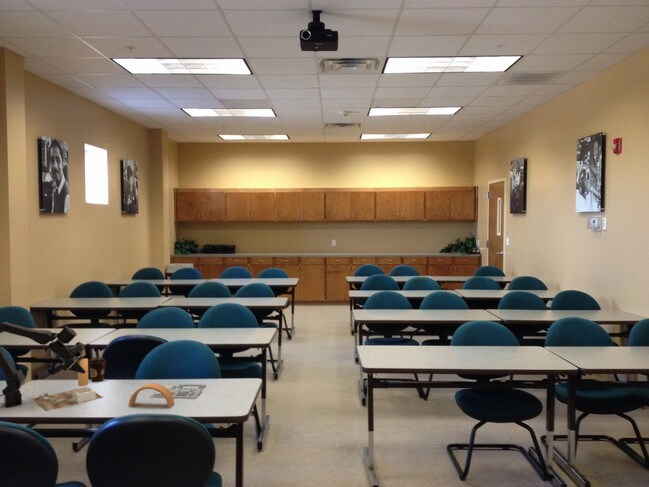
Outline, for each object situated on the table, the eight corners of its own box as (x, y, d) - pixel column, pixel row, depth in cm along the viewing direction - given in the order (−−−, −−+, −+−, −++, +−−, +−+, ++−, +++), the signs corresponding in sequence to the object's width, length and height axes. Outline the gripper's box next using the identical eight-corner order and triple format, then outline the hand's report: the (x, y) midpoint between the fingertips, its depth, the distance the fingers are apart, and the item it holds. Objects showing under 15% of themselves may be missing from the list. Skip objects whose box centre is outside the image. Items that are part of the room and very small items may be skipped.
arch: (133, 403, 250) (133, 382, 250) (174, 404, 249) (173, 383, 248) (128, 407, 245) (128, 386, 244) (169, 408, 243) (169, 387, 243)
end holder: (78, 403, 247) (78, 394, 247) (72, 398, 253) (72, 390, 253) (95, 398, 253) (95, 390, 252) (89, 394, 259) (89, 387, 258)
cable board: (45, 413, 237) (45, 405, 237) (31, 401, 253) (31, 394, 252) (103, 399, 255) (103, 392, 255) (87, 388, 271) (86, 382, 270)
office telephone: (149, 393, 258) (165, 381, 278) (149, 399, 258) (166, 385, 278) (195, 394, 255) (208, 381, 275) (195, 400, 255) (208, 386, 275)
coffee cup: (93, 385, 276) (93, 361, 275) (85, 382, 281) (85, 359, 280) (109, 381, 283) (108, 358, 282) (100, 378, 288) (100, 355, 287)
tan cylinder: (78, 386, 252) (77, 361, 252) (78, 384, 256) (77, 359, 256) (88, 385, 254) (87, 360, 254) (88, 382, 258) (87, 358, 258)
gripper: (68, 342, 244) (94, 364, 247) (77, 334, 262) (101, 354, 265) (50, 360, 243) (77, 381, 246) (61, 350, 261) (85, 370, 264)
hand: (86, 371), depth 255 cm, fingers closed on tan cylinder, 4 cm apart
